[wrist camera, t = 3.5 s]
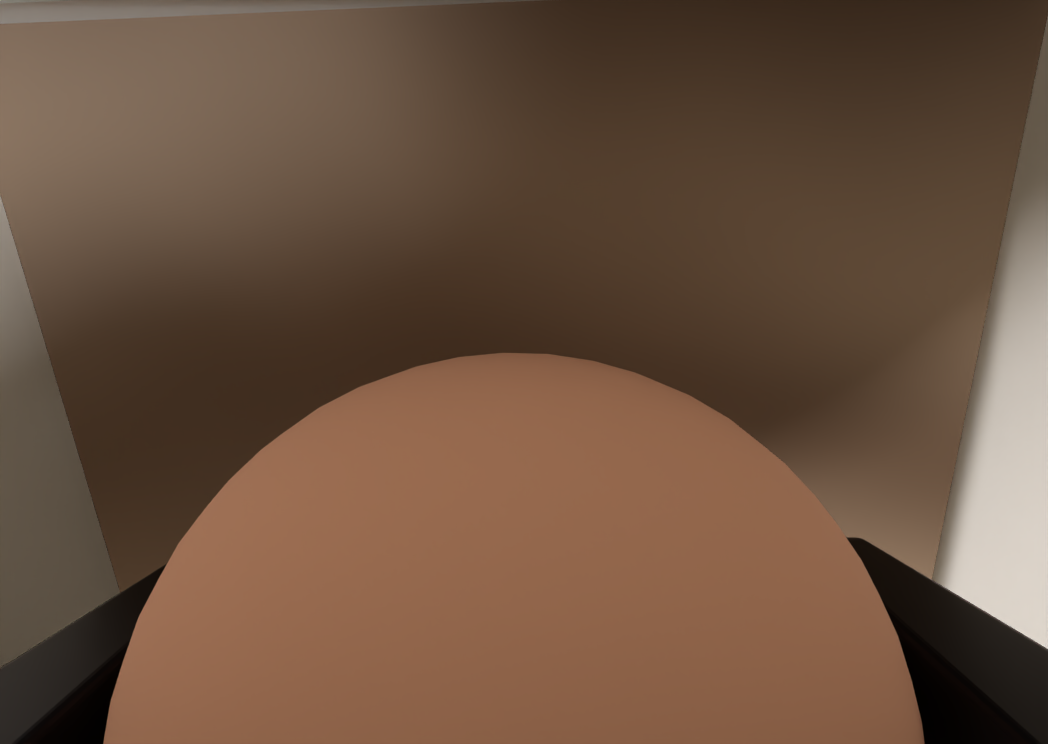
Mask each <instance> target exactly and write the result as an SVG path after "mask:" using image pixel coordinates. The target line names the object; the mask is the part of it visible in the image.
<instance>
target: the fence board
mask: <svg viewBox="0 0 1048 744" xmlns="http://www.w3.org/2000/svg"><path fill="white" fill-rule="evenodd" d="M1047 16H1048V0H0V195H1V198H2V202H3V205H4V208H5V212H6V215H7V218H8V221H9V225H10V228H11V231H12V235H13V238H14V241H15V245H16V248H17V251H18V255H19V258H20V261H21V265H22V268H23V271H24V275H25V278H26V281H27V285H28V288H29V291H30V294H31V298H32V301H33V304H34V308H35V311H36V314H37V318H38V321H39V324H40V328H41V331H42V334H43V338H44V341H45V344H46V348H47V351H48V354H49V358H50V361H51V364H52V367H53V371H54V374H55V377H56V381H57V384H58V387H59V391H60V394H61V397H62V401H63V404H64V407H65V411H66V414H67V417H68V421H69V424H70V427H71V431H72V434H73V437H74V441H75V444H76V447H77V450H78V454H79V457H80V460H81V464H82V467H83V470H84V474H85V477H86V480H87V484H88V487H89V490H90V494H91V497H92V500H93V504H94V507H95V510H96V514H97V517H98V520H99V523H100V527H101V530H102V533H103V537H104V540H105V543H106V547H107V550H108V553H109V557H110V560H111V563H112V567H113V570H114V573H115V577H116V580H117V583H118V587H119V590H120V593H121V592H122V591H124V590H126V589H127V588H129V587H130V586H132V585H133V584H135V583H137V582H138V581H140V580H141V579H143V578H145V577H146V576H148V575H149V574H151V573H153V572H154V571H156V570H157V569H159V568H161V567H162V566H164V565H165V564H167V563H168V561H169V560H170V558H171V556H172V554H173V552H174V551H175V549H176V547H177V545H178V543H179V542H180V541H181V539H182V538H183V537H184V535H185V534H186V533H187V532H188V530H189V529H190V528H191V526H192V525H193V524H194V522H195V521H196V520H197V518H198V517H199V516H200V514H201V513H202V512H203V511H204V509H205V508H206V507H207V506H208V504H209V503H210V502H211V501H212V500H213V498H214V497H215V496H216V495H217V494H218V492H219V491H220V490H221V489H222V488H223V487H224V485H225V484H226V483H227V482H228V481H229V480H230V479H231V478H232V477H233V476H234V475H235V474H236V473H237V472H238V471H239V470H240V469H241V468H242V467H243V466H244V465H245V464H246V463H248V462H249V461H250V460H251V459H252V458H253V457H254V456H255V455H256V454H257V453H258V452H259V451H260V450H261V449H263V448H264V447H265V446H267V445H268V444H269V443H271V442H272V441H273V440H274V439H276V438H277V437H278V436H280V435H281V434H282V433H284V432H285V431H287V430H288V429H289V428H291V427H292V426H294V425H295V424H296V423H298V422H299V421H301V420H302V419H304V418H305V417H306V416H308V415H309V414H311V413H312V412H313V411H315V410H316V409H318V408H319V407H321V406H323V405H325V404H327V403H329V402H331V401H333V400H335V399H337V398H339V397H341V396H343V395H344V394H346V393H348V392H350V391H352V390H354V389H356V388H358V387H360V386H363V385H366V384H369V383H371V382H374V381H377V380H380V379H383V378H385V377H388V376H391V375H394V374H397V373H399V372H402V371H405V370H408V369H410V368H413V367H416V366H421V365H425V364H430V363H434V362H439V361H443V360H448V359H452V358H457V357H464V356H475V355H485V354H496V353H531V354H552V355H558V356H565V357H572V358H578V359H585V360H592V361H596V362H599V363H603V364H606V365H610V366H613V367H617V368H621V369H624V370H628V371H631V372H635V373H637V374H640V375H642V376H645V377H647V378H650V379H652V380H654V381H657V382H659V383H661V384H664V385H666V386H668V387H671V388H673V389H676V390H678V391H680V392H683V393H685V394H687V395H690V396H692V397H693V398H695V399H697V400H698V401H700V402H702V403H704V404H705V405H707V406H709V407H710V408H712V409H714V410H715V411H717V412H719V413H721V414H722V415H724V416H726V417H727V418H729V419H730V420H732V421H733V422H734V423H735V424H737V425H738V426H739V427H740V428H742V429H743V430H744V431H746V432H747V433H748V434H749V435H751V436H752V437H753V438H754V439H756V440H757V441H758V442H759V443H761V444H762V445H763V446H764V447H766V448H767V449H768V450H769V451H770V452H772V453H773V454H774V455H775V456H776V457H778V458H779V459H780V460H781V461H783V462H784V463H785V464H786V465H787V466H788V467H789V468H790V469H791V470H792V472H793V473H794V474H795V475H796V476H797V477H798V478H799V479H800V480H801V481H802V482H803V483H804V484H805V485H806V486H807V488H808V489H809V490H810V491H811V492H812V493H813V494H814V495H815V496H816V497H817V499H818V500H819V501H820V503H821V504H822V505H823V506H824V508H825V509H826V510H827V512H828V513H829V514H830V515H831V517H832V518H833V519H834V521H835V522H836V523H837V525H838V526H839V528H840V529H841V530H842V532H843V533H844V535H845V536H846V538H847V537H858V538H862V539H864V540H866V541H868V542H869V543H871V544H873V545H874V546H876V547H878V548H879V549H881V550H883V551H884V552H886V553H888V554H889V555H891V556H893V557H894V558H896V559H898V560H900V561H901V562H903V563H905V564H906V565H908V566H910V567H911V568H913V569H915V570H916V571H918V572H920V573H921V574H923V575H925V576H926V577H928V578H930V579H931V580H932V576H933V571H934V566H935V561H936V557H937V552H938V547H939V542H940V537H941V532H942V527H943V522H944V518H945V513H946V508H947V503H948V498H949V493H950V488H951V483H952V479H953V474H954V469H955V464H956V459H957V454H958V449H959V444H960V440H961V435H962V430H963V425H964V420H965V415H966V410H967V406H968V401H969V396H970V391H971V386H972V381H973V376H974V371H975V367H976V362H977V357H978V352H979V347H980V342H981V337H982V332H983V328H984V323H985V318H986V313H987V308H988V303H989V298H990V293H991V289H992V284H993V279H994V274H995V269H996V264H997V259H998V254H999V250H1000V245H1001V240H1002V235H1003V230H1004V225H1005V220H1006V216H1007V211H1008V206H1009V201H1010V196H1011V191H1012V186H1013V181H1014V177H1015V172H1016V167H1017V162H1018V157H1019V152H1020V147H1021V142H1022V138H1023V133H1024V128H1025V123H1026V118H1027V113H1028V108H1029V103H1030V99H1031V94H1032V89H1033V84H1034V79H1035V74H1036V69H1037V64H1038V60H1039V55H1040V50H1041V45H1042V40H1043V35H1044V30H1045V26H1046V21H1047Z"/></svg>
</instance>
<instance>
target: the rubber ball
mask: <svg viewBox="0 0 1048 744" xmlns="http://www.w3.org/2000/svg"><path fill="white" fill-rule="evenodd" d="M103 744H925V742H924V735H923V727H922V720H921V716H920V712H919V708H918V704H917V700H916V696H915V692H914V688H913V684H912V680H911V677H910V674H909V670H908V667H907V664H906V661H905V657H904V654H903V651H902V647H901V644H900V641H899V638H898V635H897V633H896V631H895V628H894V626H893V624H892V622H891V620H890V617H889V615H888V613H887V611H886V608H885V606H884V604H883V602H882V600H881V597H880V595H879V593H878V591H877V589H876V588H875V586H874V584H873V582H872V580H871V578H870V576H869V574H868V572H867V570H866V568H865V566H864V564H863V562H862V560H861V559H860V557H859V556H858V554H857V553H856V551H855V550H854V548H853V547H852V545H851V544H850V542H849V541H848V539H847V538H846V536H845V535H844V533H843V532H842V530H841V529H840V528H839V526H838V525H837V523H836V522H835V521H834V519H833V518H832V517H831V515H830V514H829V513H828V512H827V510H826V509H825V508H824V506H823V505H822V504H821V503H820V501H819V500H818V499H817V497H816V496H815V495H814V494H813V493H812V492H811V491H810V490H809V489H808V488H807V486H806V485H805V484H804V483H803V482H802V481H801V480H800V479H799V478H798V477H797V476H796V475H795V474H794V473H793V472H792V470H791V469H790V468H789V467H788V466H787V465H786V464H785V463H784V462H783V461H781V460H780V459H779V458H778V457H776V456H775V455H774V454H773V453H772V452H770V451H769V450H768V449H767V448H766V447H764V446H763V445H762V444H761V443H759V442H758V441H757V440H756V439H754V438H753V437H752V436H751V435H749V434H748V433H747V432H746V431H744V430H743V429H742V428H740V427H739V426H738V425H737V424H735V423H734V422H733V421H732V420H730V419H729V418H727V417H726V416H724V415H722V414H721V413H719V412H717V411H715V410H714V409H712V408H710V407H709V406H707V405H705V404H704V403H702V402H700V401H698V400H697V399H695V398H693V397H692V396H690V395H687V394H685V393H683V392H680V391H678V390H676V389H673V388H671V387H668V386H666V385H664V384H661V383H659V382H657V381H654V380H652V379H650V378H647V377H645V376H642V375H640V374H637V373H635V372H631V371H628V370H624V369H621V368H617V367H613V366H610V365H606V364H603V363H599V362H596V361H592V360H585V359H578V358H572V357H565V356H558V355H552V354H531V353H496V354H485V355H475V356H464V357H457V358H452V359H448V360H443V361H439V362H434V363H430V364H425V365H421V366H416V367H413V368H410V369H408V370H405V371H402V372H399V373H397V374H394V375H391V376H388V377H385V378H383V379H380V380H377V381H374V382H371V383H369V384H366V385H363V386H360V387H358V388H356V389H354V390H352V391H350V392H348V393H346V394H344V395H343V396H341V397H339V398H337V399H335V400H333V401H331V402H329V403H327V404H325V405H323V406H321V407H319V408H318V409H316V410H315V411H313V412H312V413H311V414H309V415H308V416H306V417H305V418H304V419H302V420H301V421H299V422H298V423H296V424H295V425H294V426H292V427H291V428H289V429H288V430H287V431H285V432H284V433H282V434H281V435H280V436H278V437H277V438H276V439H274V440H273V441H272V442H271V443H269V444H268V445H267V446H265V447H264V448H263V449H261V450H260V451H259V452H258V453H257V454H256V455H255V456H254V457H253V458H252V459H251V460H250V461H249V462H248V463H246V464H245V465H244V466H243V467H242V468H241V469H240V470H239V471H238V472H237V473H236V474H235V475H234V476H233V477H232V478H231V479H230V480H229V481H228V482H227V483H226V484H225V485H224V487H223V488H222V489H221V490H220V491H219V492H218V494H217V495H216V496H215V497H214V498H213V500H212V501H211V502H210V503H209V504H208V506H207V507H206V508H205V509H204V511H203V512H202V513H201V514H200V516H199V517H198V518H197V520H196V521H195V522H194V524H193V525H192V526H191V528H190V529H189V530H188V532H187V533H186V534H185V535H184V537H183V538H182V539H181V541H180V542H179V543H178V545H177V547H176V549H175V551H174V552H173V554H172V556H171V558H170V560H169V561H168V563H167V565H166V567H165V568H164V570H163V572H162V574H161V576H160V577H159V579H158V581H157V583H156V585H155V587H154V589H153V591H152V592H151V594H150V596H149V598H148V600H147V602H146V604H145V606H144V608H143V610H142V611H141V613H140V615H139V617H138V620H137V623H136V626H135V629H134V631H133V634H132V637H131V640H130V643H129V646H128V649H127V651H126V654H125V657H124V660H123V663H122V666H121V669H120V673H119V676H118V679H117V682H116V685H115V689H114V692H113V695H112V698H111V702H110V707H109V713H108V719H107V725H106V731H105V736H104V742H103Z"/></svg>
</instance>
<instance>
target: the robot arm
mask: <svg viewBox="0 0 1048 744" xmlns="http://www.w3.org/2000/svg"><path fill="white" fill-rule="evenodd" d="M847 539H848V541H849V542H850V544H851V545H852V547H853V548H854V550H855V551H856V553H857V554H858V556H859V557H860V559H861V560H862V562H863V564H864V566H865V568H866V570H867V572H868V574H869V576H870V578H871V580H872V582H873V584H874V586H875V588H876V589H877V591H878V593H879V595H880V597H881V600H882V602H883V604H884V606H885V608H886V611H887V613H888V615H889V617H890V620H891V622H892V624H893V626H894V628H895V631H896V633H897V635H898V638H899V641H900V644H901V647H902V651H903V654H904V657H905V661H906V664H907V667H908V670H909V674H910V677H911V680H912V684H913V688H914V692H915V696H916V700H917V704H918V708H919V712H920V716H921V720H922V727H923V735H924V742H925V744H1048V649H1047V648H1045V647H1044V646H1042V645H1040V644H1038V643H1037V642H1035V641H1033V640H1032V639H1030V638H1028V637H1027V636H1025V635H1023V634H1022V633H1020V632H1018V631H1017V630H1015V629H1013V628H1012V627H1010V626H1008V625H1007V624H1005V623H1003V622H1002V621H1000V620H998V619H997V618H995V617H993V616H992V615H990V614H988V613H987V612H985V611H983V610H982V609H980V608H978V607H977V606H975V605H973V604H972V603H970V602H968V601H966V600H965V599H963V598H961V597H960V596H958V595H956V594H955V593H953V592H951V591H950V590H948V589H946V588H945V587H943V586H941V585H940V584H938V583H936V582H935V581H933V580H931V579H930V578H928V577H926V576H925V575H923V574H921V573H920V572H918V571H916V570H915V569H913V568H911V567H910V566H908V565H906V564H905V563H903V562H901V561H900V560H898V559H896V558H894V557H893V556H891V555H889V554H888V553H886V552H884V551H883V550H881V549H879V548H878V547H876V546H874V545H873V544H871V543H869V542H868V541H866V540H864V539H862V538H858V537H847ZM166 565H167V564H165V565H164V566H162V567H161V568H159V569H157V570H156V571H154V572H153V573H151V574H149V575H148V576H146V577H145V578H143V579H141V580H140V581H138V582H137V583H135V584H133V585H132V586H130V587H129V588H127V589H126V590H124V591H122V592H121V593H119V594H118V595H116V596H114V597H113V598H111V599H110V600H108V601H106V602H105V603H103V604H102V605H100V606H98V607H97V608H95V609H94V610H92V611H91V612H89V613H87V614H86V615H84V616H83V617H81V618H79V619H78V620H76V621H75V622H73V623H71V624H70V625H68V626H67V627H65V628H63V629H62V630H60V631H59V632H57V633H56V634H54V635H52V636H51V637H49V638H48V639H46V640H44V641H43V642H41V643H40V644H38V645H36V646H35V647H33V648H32V649H30V650H29V651H27V652H25V653H24V654H22V655H21V656H19V657H17V658H16V659H14V660H13V661H11V662H9V663H8V664H6V665H5V666H3V667H1V668H0V744H103V742H104V736H105V731H106V725H107V719H108V713H109V707H110V702H111V698H112V695H113V692H114V689H115V685H116V682H117V679H118V676H119V673H120V669H121V666H122V663H123V660H124V657H125V654H126V651H127V649H128V646H129V643H130V640H131V637H132V634H133V631H134V629H135V626H136V623H137V620H138V617H139V615H140V613H141V611H142V610H143V608H144V606H145V604H146V602H147V600H148V598H149V596H150V594H151V592H152V591H153V589H154V587H155V585H156V583H157V581H158V579H159V577H160V576H161V574H162V572H163V570H164V568H165V567H166Z"/></svg>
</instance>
